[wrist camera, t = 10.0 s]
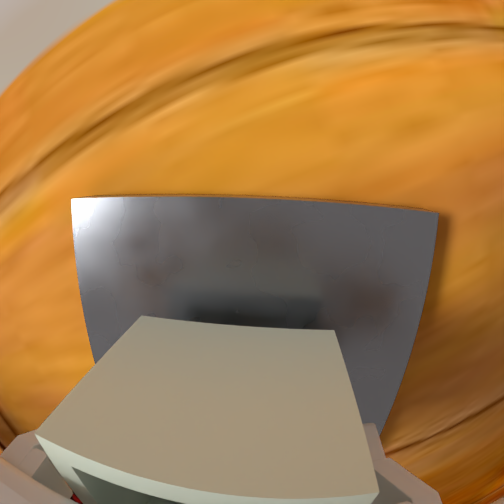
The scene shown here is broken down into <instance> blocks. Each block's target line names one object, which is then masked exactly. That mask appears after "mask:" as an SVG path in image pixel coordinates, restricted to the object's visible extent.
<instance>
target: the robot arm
mask: <svg viewBox="0 0 504 504" xmlns="http://www.w3.org/2000/svg"><path fill="white" fill-rule="evenodd" d="M363 428H364V432H365V435H366V439H367V443H368V447H369V451H370V455H371V459H372V463H373V467H374V471H375V475H376V479H377V484H378V488H379V494H378V495H377V496H376V498H375V499H374V501H373V502H372V503H371V504H442V501H441V498H440V496H439V493H438V492H437V491H436V490H434V489H433V488H431V487H430V486H428V485H427V484H426V483H424V482H423V481H421V480H420V479H418V478H417V477H416V476H414V475H413V474H412V473H410V472H409V471H407V470H406V469H405V468H403V467H402V466H401V465H399V464H398V463H397V462H395V461H394V460H393V459H391V458H386V457H385V453H384V450H383V447H382V444H381V441H380V437H379V434H378V431H377V428H376V425H375V424H374V423H366V424H363ZM36 430H37V429H36ZM36 430H33V431H30V432H27V433H24V434H21V435H18V436H17V437H16V438H15V439H14V440H13V441H12V442H11V443H10V445H9V446H8V447H7V448H6V449H5V450H4V451H3V453H2V454H1V455H0V504H79V503H77V502H75V501H73V500H71V499H70V498H71V496H72V494H73V492H72V490H71V488H70V487H69V486H68V485H67V483H66V482H65V480H64V479H63V477H62V476H61V474H60V473H59V472H58V470H57V469H56V467H55V466H54V464H53V463H52V461H51V460H50V458H49V457H48V455H47V454H46V452H45V451H44V449H43V447H42V446H41V444H40V443H39V441H38V439H37V438H36V436H35V434H34V433H35V431H36ZM491 504H504V497H503V498H501V499H499V500H497V501H495V502H493V503H491Z"/></svg>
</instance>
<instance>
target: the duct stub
mask: <svg viewBox="0 0 504 504" xmlns="http://www.w3.org/2000/svg"><path fill="white" fill-rule="evenodd" d="M71 204H72V224H73V238H74V249H75V258H76V267H77V275H78V282H79V288H80V295H81V301H82V306H83V312H84V317H85V322H86V327H87V332H88V336H89V341H90V345H91V349H92V353H93V357H94V361H95V364H96V363H97V362H98V361H99V360H100V359H101V358H102V357H103V355H104V354H105V353H106V352H107V351H108V350H109V349H110V348H111V347H112V346H113V345H114V344H115V343H116V342H117V341H118V339H119V338H120V337H121V336H122V335H123V334H124V333H125V332H126V331H127V330H128V329H129V328H130V327H131V326H132V325H133V324H134V323H135V322H136V321H137V320H138V318H139V317H140V316H141V315H142V316H149V317H157V318H165V319H174V320H183V321H192V322H202V323H212V324H224V325H236V326H250V327H266V328H285V329H310V330H334V331H335V334H336V337H337V340H338V343H339V347H340V350H341V353H342V356H343V359H344V362H345V366H346V369H347V372H348V376H349V379H350V382H351V386H352V389H353V392H354V396H355V399H356V403H357V406H358V410H359V413H360V417H361V421H362V424H366V423H374V424H375V425H376V428H377V431H378V434H379V436H380V434H381V432H382V429H383V427H384V425H385V422H386V420H387V418H388V415H389V413H390V410H391V408H392V405H393V403H394V400H395V398H396V395H397V392H398V390H399V387H400V384H401V381H402V379H403V376H404V373H405V370H406V367H407V364H408V361H409V357H410V354H411V351H412V348H413V344H414V341H415V337H416V334H417V330H418V326H419V322H420V318H421V314H422V310H423V306H424V302H425V297H426V293H427V288H428V283H429V278H430V272H431V267H432V261H433V255H434V248H435V241H436V234H437V226H438V216H439V213H437V212H433V211H429V210H425V209H421V208H413V207H404V206H395V205H385V204H375V203H364V202H352V201H340V200H326V199H312V198H295V197H276V196H252V195H216V194H134V195H100V196H87V197H80V198H74V199H71Z"/></svg>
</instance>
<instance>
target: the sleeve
mask: <svg viewBox="0 0 504 504" xmlns="http://www.w3.org/2000/svg"><path fill="white" fill-rule="evenodd" d="M34 434H35V436H36V438H37V439H38V441H39V443H40V444H41V446H42V447H43V449H44V451H45V452H46V454H47V455H48V457H49V458H50V460H51V461H52V463H53V464H54V466H55V467H56V469H57V470H58V472H59V473H60V474H61V476H62V477H63V479H64V480H65V481H66V483H67V484H68V485H69V487H70V488H71V489H72V490H73V492H74V493H75V494H76V496H77V497H78V498H79V499H80V500H81V502H82V503H83V504H371V503H372V502H373V501H374V499H375V498H376V496H377V495H378V494H379V488H378V484H377V479H376V475H375V471H374V467H373V463H372V459H371V455H370V451H369V447H368V443H367V439H366V435H365V432H364V428H363V424H362V421H361V417H360V413H359V410H358V406H357V403H356V399H355V396H354V392H353V389H352V386H351V382H350V379H349V376H348V372H347V369H346V366H345V362H344V359H343V356H342V353H341V350H340V347H339V343H338V340H337V337H336V334H335V331H334V330H310V329H285V328H266V327H250V326H236V325H224V324H212V323H202V322H192V321H183V320H174V319H165V318H157V317H149V316H142V315H141V316H140V317H139V318H138V320H137V321H136V322H135V323H134V324H133V325H132V326H131V327H130V328H129V329H128V330H127V331H126V332H125V333H124V334H123V335H122V336H121V337H120V338H119V339H118V341H117V342H116V343H115V344H114V345H113V346H112V347H111V348H110V349H109V350H108V351H107V352H106V353H105V354H104V355H103V357H102V358H101V359H100V360H99V361H98V362H97V363H96V364H95V365H94V366H93V367H92V368H91V370H90V371H89V372H88V373H87V374H86V375H85V376H84V377H83V378H82V379H81V380H80V382H79V383H78V384H77V385H76V386H75V387H74V388H73V389H72V390H71V392H70V393H69V394H68V395H67V396H66V397H65V398H64V399H63V401H62V402H61V403H60V404H59V405H58V406H57V407H56V408H55V410H54V411H53V412H52V413H51V414H50V415H49V416H48V418H47V419H46V420H45V421H44V422H43V423H42V424H41V426H40V427H39V428H38V429H37V430H36V431H35V433H34Z"/></svg>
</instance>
